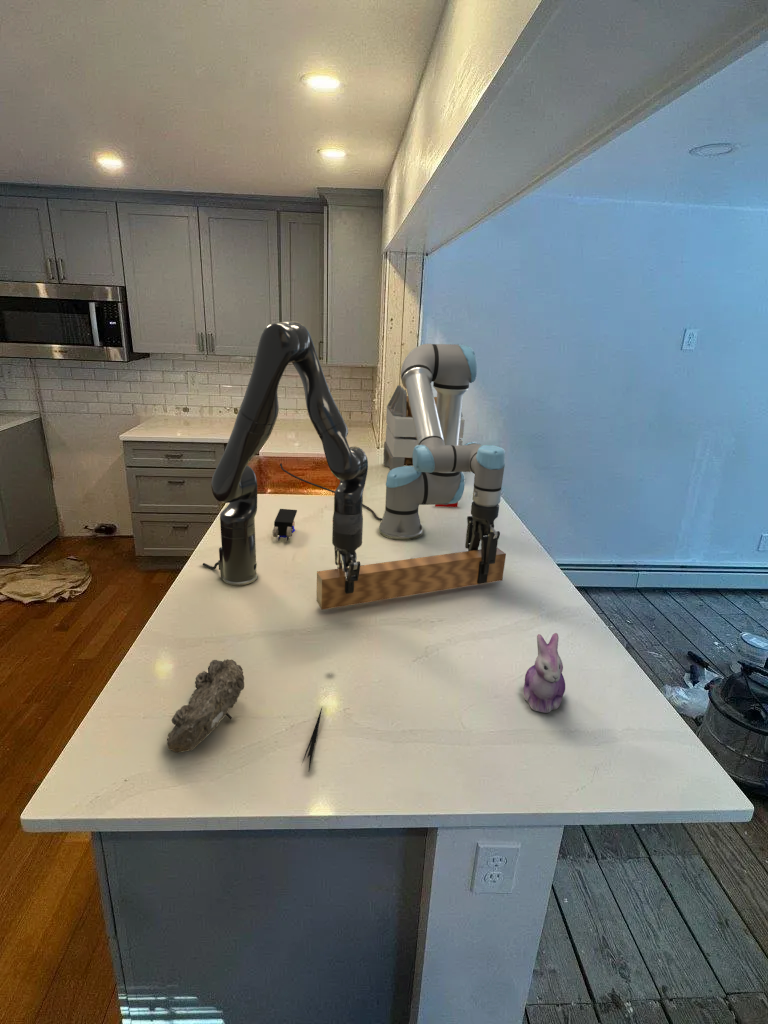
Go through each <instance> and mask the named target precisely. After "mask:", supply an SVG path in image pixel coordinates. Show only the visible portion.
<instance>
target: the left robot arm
mask: <svg viewBox="0 0 768 1024" xmlns="http://www.w3.org/2000/svg"><path fill="white" fill-rule="evenodd" d="M314 344H315V343H314V341H313V339H312V337H311V333H310V332H309V330H308V329H307V327H306V326H305V325H304V324H303V323H301V322H300V321H298V320H286V321H285V320H284V321H276V322H273V323H270V324H268V325H267V326H266V327H264V329H263V331H262V333H261V335H260V337H259V341H258V345H257V349H256V355H255V360H254V364H253V368H252V371H251V374H250V378H249V381H248V384H247V387H246V390H245V393H244V395H243V399H242V402H241V403H240V407H239V409H238V411H237V415H236V419H235V422H234V425H233V428H232V430H231V433H230V436H229V438H228V441H227V444H226V447H225V449H224V451H223V453H222V455H221V458H220V459H219V461H218V464H217V465H216V468H215V469H214V472H213V474H212V478H211V483H210V486H211V487H210V488H211V492H212V495H213V497H214V498H215V499H216V500H217V501H218V502H219V503H223V504H228V505H227V506H226V507H225V508H224V509H223V510H222V511H221V513H220V514H219V525H220V526H219V527H220V539H221V540H220V542H221V546H220V547H219V548H218V556H219V560H218V561H217V562H215V563H214V565H213V566H212V565H210V564H207V563H205V562H203V563H202V566H203V567H205V568H208V569H209V570H216V569H217V568H218V570H219V572H220V580H223V581H224V583H225V584H227V585H230V586H246V585H250V584H252V583H254V582H255V581H256V580H257V579H258V573H257V572H258V571H257V568H258V562H257V548H256V547H257V546H256V523H255V521H256V520H255V518H256V515H257V512H258V480H257V476H256V473H255V471H254V470H253V468H252V467H251V466H249V465H248V464H249V463H250V461H251V460H252V459H253V457H255V456H256V454H257V453H258V452H259V451H260V449H262V447H264V445H265V444H266V442H267V441H268V440H269V438H270V437H271V435H272V433H273V430H274V427H275V425H276V422H277V420H278V416H279V412H280V411H279V410H280V406H279V397H278V396H279V395H278V394H279V393H278V391H279V385H280V382H281V380H282V377H283V376H284V372H285V370H286V368H287V366H288V365H290V364H291V365H293V367H294V369H295V370H296V372H297V373H298V375H299V378H300V380H301V384H302V387H303V392H304V396H305V398H304V401H305V406H306V411H307V414H308V417H309V419H310V422H311V424H312V426H313V427H314V430H315V432H316V434H317V435H318V437H319V439H320V442H321V444H322V448H323V453H324V456H325V459H326V463H327V466H328V469H329V470H330V472H331V473H332V475H333V476H334V477H335V478H336V479H337V480H339V484H338V486H337V487H336V489H335V490H334V491H335V493H333V515H332V534H331V535H332V537H331V538H332V539H331V543H332V546H333V547H334V548H333V549H334V564H335V566H336V569H339V568H342V570H343V572H345V593H346V594H349V593H353V592H354V581H358V577H359V571H360V566H361V561H357V558H358V556H357V552H356V550H357V549H359V548H360V547H362V545H363V532H364V531H363V530H364V517H363V516H364V515H363V506H362V505H363V504H364V503H363V502H364V501H363V500H364V498H363V497H364V490H365V486H366V481H367V477H368V471H369V460H368V456H367V454H366V452H365V451H364V450H363V448H360V447H358V446H350V445H349V441H348V440H347V437H348V434H349V428H348V425H347V423H346V422H345V420H344V418H343V416H342V414H341V412H340V410H339V408H338V405H337V404H336V402H335V399H334V397H333V395H332V393H331V390H330V388H329V385H328V383H327V381H326V377H325V375H324V371H323V368H322V365H321V363H320V360H319V357H318V354H317V350H316V348H315V345H314ZM346 567H349V568H346Z"/></svg>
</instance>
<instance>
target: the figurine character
mask: <svg viewBox="0 0 768 1024" xmlns="http://www.w3.org/2000/svg"><path fill="white" fill-rule="evenodd" d="M297 513H298V510H297V509H290V508H289V509H288V508H279V510H278V511H277V514H276V517H275V519H274V521H273V530H272V537H273V538H277V542H280V541H281V538H282V539H286V540H285V542H288V541H289V539H290V538H291V537H293V534H294V533H295V532H296V529H295V518H296V516H297Z"/></svg>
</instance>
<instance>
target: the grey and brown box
mask: <svg viewBox="0 0 768 1024" xmlns="http://www.w3.org/2000/svg"><path fill="white" fill-rule="evenodd" d="M434 400H435V404H436V402H437V396H434ZM385 414H386V415H385V423H386V428H385V438H384V442H383V466H384V467H388V468H389V471H390V470H392V469H394V468H397V467H402V466H413V459H412V455H413V449H414V447H415V446H417V445H418V442H417V437H416V433H415V428H414V423H413V418H412V413H411V408H410V403H409V398H408V393H407V389H405V388H404V387H402V385H399V384H398V385H397V386H396V388H395V390H394V392H393V394H392V395H391V398H390V400H389V402H388V404H387V405H386V413H385ZM464 429H465V419H464V418H463V411H462V412H461V422H460V432H459V441H458V445H463V442H464V441H463V440H462V439H463V438H464V431H465V430H464Z"/></svg>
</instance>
